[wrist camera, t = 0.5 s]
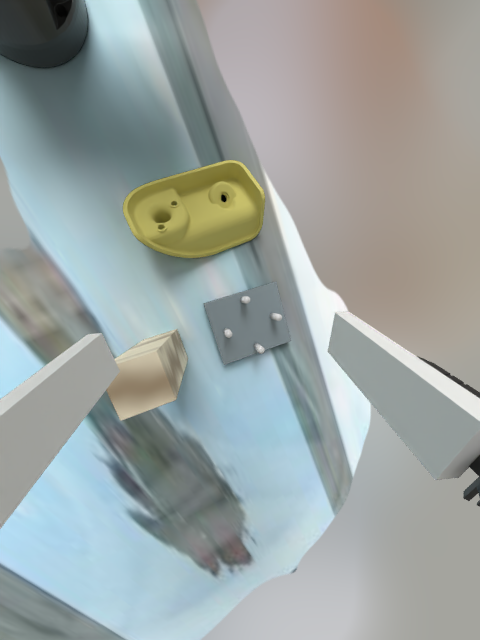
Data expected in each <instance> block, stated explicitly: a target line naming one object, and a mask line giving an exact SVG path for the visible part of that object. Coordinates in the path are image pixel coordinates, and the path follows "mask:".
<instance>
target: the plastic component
mask: <svg viewBox="0 0 480 640" xmlns="http://www.w3.org/2000/svg"><path fill="white" fill-rule="evenodd" d="M221 195H225V197H226V202H222V201H221ZM174 205H175V206H174ZM264 206H265V195H264V191H263V189H262V188H261V186H260V185H259V184H258V182H257V181H256V180H255V178H254V177H253V176H252V174H251V173H250V172H249V170H248V169H247V168H246V166H245V165H244V164H242V163H241V162H238V161H234V160H226V161H223V162H219V163H216V164H212V165H208V166H205V167H201V168H198V169H194V170H191V171H187V172H183V173H180V174H176V175H173V176H169V177H166V178H162V179H159V180H156V181H152V182H149V183H147V184H144V185H142V186H140V187H138V188H136V189H134V190H133V191H132V192H130V193H129V194H128V196H127V197H126V199H125V201H124V203H123V213H124V216H125V218H126V220H127V222H128V225H129V227H130V229H131V231H132V233H133V235H134V236H135V237H136V238H137V239H138V240H139V241H140V242H141V243H143V244H144V245H146V246H148V247H150V248H152V249H154V250H156V251H158V252H161V253H164V254H167V255H171V256H176V257H183V258H199V257H205V256H210V255H214V254H217V253H219V252H222V251H224V250H227V249H229V248H232V247H235V246H237V245H240V244H242V243H245V242H247V241H250V240H252V239H253V238H255V237H256V236H257V235H258V233H259V232H260V230H261V228H262V224H263V215H264Z"/></svg>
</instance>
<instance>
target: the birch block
mask: <svg viewBox="0 0 480 640" xmlns="http://www.w3.org/2000/svg"><path fill="white" fill-rule="evenodd" d="M114 360H115V362H116V364H117V366H118V368H119V370H120V372H119V373H118V375H117V376H116V377H115V379H114V380H113V381H112V383H111V384H110V385H109V387H108V388H107V389H106V391H107V393H108V395H109V397H110V399H111V401H112V403H113V406H114V408H115V410H116V412H117V414H118V416H119V418H120V420H124V419H127V418H129V417H132V416H135V415H137V414H140V413H143V412H145V411H148V410H151V409H153V408H156V407H159V406H161V405H164V404H167V403H169V402H172V401H175V400H176V399H177V395H178V392H179V388H180V385H181V381H182V378H183V374H184V371H185V368H186V364H187V361H188V357H187V354H186V352H185V349H184V346H183V343H182V341H181V338H180V335H179V333H178V330H177V329H175V330H172V331H169V332H166V333H163V334H159V335H156V336H153V337H150V338H147V339H144V340H142V341H141V342H139V343H138V344H136V345H135V346H133V347H132V348H130V349H129V350H127V351H126V352H124V353H123V354H121V355H120V356H118V357H117V358H115V359H114Z"/></svg>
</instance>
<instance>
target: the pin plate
mask: <svg viewBox="0 0 480 640" xmlns="http://www.w3.org/2000/svg"><path fill="white" fill-rule="evenodd" d="M204 306H205V309H206V312H207V315H208V318H209V321H210V324H211V327H212V330H213V333H214V336H215V339H216V342H217V345H218V348H219V351H220V354H221V357H222V360H223V363H224V365H226V364H228V363H231V362H234V361H237V360H239V359H242V358H245V357H248V356H250V355H253V354H256V353H260V354H262V353H264V351H265V350H267V349H270V348H273V347H275V346H278V345H281V344H284V343H286V342H289V341H291V338H290V334H289V330H288V326H287V322H286V318H285V314H284V310H283V307H282V303H281V299H280V295H279V291H278V287H277V283H276V282H272V283H269V284H266V285H263V286H259V287H256V288H253V289H249V290H246V291H243V292H240V293H236V294H233V295H230V296H226V297H223V298H220V299H217V300H213V301H210V302H207V303H204Z"/></svg>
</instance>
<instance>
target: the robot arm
mask: <svg viewBox="0 0 480 640" xmlns="http://www.w3.org/2000/svg"><path fill="white" fill-rule="evenodd" d="M87 25H88V19H87V10H86V5H85V1H84V0H0V54H2V55H3V56H5V57H7V58H9V59H11V60H13V61H16V62H18V63H21V64H24V65H28V66H33V67H53V66H57V65H60V64H63V63H65V62H67V61H69V60H70V59H71V58H73V57H74V56H75V55H76V54H77V53H78V51H79V50H80V49H81V47H82V45H83V43H84V40H85V37H86V33H87ZM328 353H329V354H330V355H331V356H332V357H333V358H334V360H335V361H336V362H337V363H338V364H339V366H340V367H341V368H342V369H343V370H344V372H345V373H346V374H347V375H348V376H349V378H350V379H351V380H352V381H353V382H354V384H355V385H356V386H357V387H358V388H359V390H360V391H361V392H362V393H363V394H364V396H365V397H366V398H367V399H368V400H369V402H370V403H371V404H372V405H373V406H374V408H375V409H377V411H378V412H379V413H380V415H381V416H382V417H383V418H384V419H385V421H386V422H387V423H388V424H389V425H390V427H391V428H392V429H393V430H394V431H395V433H397V435H398V436H399V437H400V439H401V440H402V441H403V442H404V443H405V445H406V446H407V447H408V448H409V449H410V451H411V452H412V453H413V454H414V455H415V456H416V458H417V459H418V460H419V461H420V462H421V464H422V465H423V466H424V467H425V468H426V470H427V471H428V472H429V473H430V474H431V476H432V477H433V478H434V479H435V480H442V479H450V478H459V477H460V476H461V475H462V474H463V473H464V472H465V471H466V470H467V469H468V468H469V467H470V468H471V469H472V470H473V471H474V472H475V473H476V474H477V475H479V477H478V478H477V479H476V480H475V481H474V482H473V483H472V484H471V485H470V486H469V487H468V488H467V489H466V490H465V491H464V499H466V500H468V501H470V499H472V498H473V497H474V496H475V495H476V494H478V493H479V496H480V392H478V391H476V390H475V389H473V388H472V387H470V386H469V385H465V384H464V383H463V382H462V381H461V380H459V379H458V378H456V377H455V376H451V375H450V373H448V372H447V371H445V370H444V369H442V368H440V367H439V366H437V365H436V364H434V363H432V362H429V361H427V360H425V359H423V358H420V357H418V356H415V355H413V354H412V353H410V352H409V351H407V350H406V349H404V348H402V347H401V346H400V345H398V344H397V343H395V342H394V341H392V340H391V339H389V338H388V337H386V336H385V335H383V334H381V333H380V332H379V331H377V330H376V329H374V328H373V327H371V326H370V325H368V324H366V323H365V322H364V321H362V320H361V319H359V318H357V317H356V316H354V315H353V314H351V313H350V312H348V311H347V312H336V313H335V316H334V322H333V327H332V332H331V337H330V342H329V348H328ZM119 372H120V370H119V368H118V366H117V364H116V362H115V360H114V358H113V356H112V353H111V351H110V349H109V347H108V345H107V343H106V341H105V339H104V337H103V335H102V333H98V334H87V335H86V336H85V337H83V338H82V339H81V340H79V341H78V342H77V343H75V344H74V345H73V346H71V347H70V348H69V349H67V350H66V351H65V352H63V353H62V354H61V355H59V356H58V357H57V358H55V359H54V360H52V361H51V362H50V363H48V364H47V365H46V366H44V367H43V368H42V369H40V370H39V371H38V372H36V373H35V374H34V375H32V376H31V377H30V378H28V379H27V380H26V381H24V382H23V383H22V384H20V385H19V386H18V387H16V388H15V389H14V390H12V391H11V392H9V393H8V394H7V395H5V396H4V397H3V398H1V399H0V529H1V527H2V526H3V525H4V523H5V522H6V521H7V520H8V518H9V517H10V516H11V514H12V513H13V512H14V510H15V509H16V508H17V506H18V505H19V504H20V502H21V501H22V500H23V498H24V497H25V496H26V495H27V493H28V492H29V491H30V489H31V488H32V487H33V485H34V484H35V483H36V481H37V480H38V479H39V477H40V476H41V475H42V473H43V472H44V471H45V469H46V468H47V467H48V466H49V464H50V463H51V462H52V460H53V459H54V458H55V456H56V455H57V454H58V452H59V451H60V450H61V448H62V447H63V446H64V444H65V443H66V442H67V441H68V439H69V438H70V437H71V435H72V434H73V433H74V431H75V430H76V429H77V427H78V426H79V425H80V423H81V422H82V421H83V419H84V418H85V417H86V416H87V414H88V413H89V412H90V410H91V409H92V408H93V406H94V405H95V404H96V402H97V401H98V400H99V398H100V397H101V396H102V394H103V393H104V392H105V391H106V389H107V388H108V387H109V385H110V384H111V383H112V381H113V380H114V379H115V377H116V376H117V375H118V373H119ZM477 505H478V506H480V500H479V501H478V503H477Z"/></svg>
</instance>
